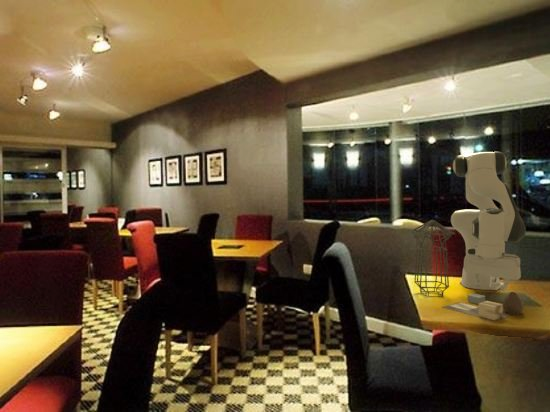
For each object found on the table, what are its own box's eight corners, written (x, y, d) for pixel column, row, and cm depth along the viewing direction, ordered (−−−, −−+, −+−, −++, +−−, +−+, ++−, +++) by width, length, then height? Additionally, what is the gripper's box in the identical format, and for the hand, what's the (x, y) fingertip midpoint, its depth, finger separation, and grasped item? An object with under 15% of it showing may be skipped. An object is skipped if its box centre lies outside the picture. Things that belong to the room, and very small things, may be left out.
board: (459, 304, 176) (459, 301, 176) (513, 317, 158) (513, 314, 158) (441, 309, 169) (441, 306, 169) (495, 324, 151) (495, 321, 151)
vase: (514, 318, 158) (515, 295, 157) (498, 313, 164) (499, 291, 164) (527, 316, 160) (527, 293, 160) (510, 311, 167) (511, 289, 166)
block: (486, 313, 161) (486, 300, 160) (502, 317, 156) (502, 304, 155) (478, 316, 157) (478, 303, 157) (494, 320, 152) (494, 306, 152)
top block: (473, 302, 180) (473, 293, 180) (485, 305, 176) (485, 295, 176) (467, 304, 177) (467, 295, 177) (479, 307, 173) (479, 297, 173)
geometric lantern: (420, 298, 186) (420, 221, 184) (409, 290, 201) (410, 219, 200) (455, 299, 185) (456, 221, 184) (442, 290, 201) (443, 219, 199)
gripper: (524, 254, 148) (523, 292, 149) (470, 248, 165) (470, 282, 166) (516, 255, 145) (515, 294, 145) (461, 249, 162) (461, 284, 162)
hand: (490, 287), depth 156 cm, fingers open, 8 cm apart
